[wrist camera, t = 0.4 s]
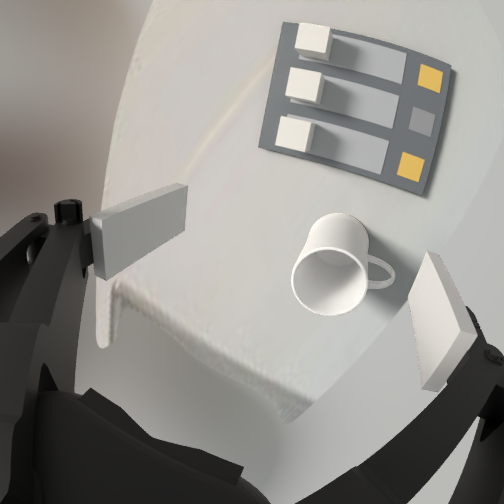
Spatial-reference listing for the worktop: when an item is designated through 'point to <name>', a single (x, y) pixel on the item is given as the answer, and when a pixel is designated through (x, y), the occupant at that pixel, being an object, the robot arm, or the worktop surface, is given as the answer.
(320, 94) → the cream cube block
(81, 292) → the robot arm
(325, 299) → the mug
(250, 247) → the worktop surface
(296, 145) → the off-white cube
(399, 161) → the switch bank
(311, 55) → the white cube
